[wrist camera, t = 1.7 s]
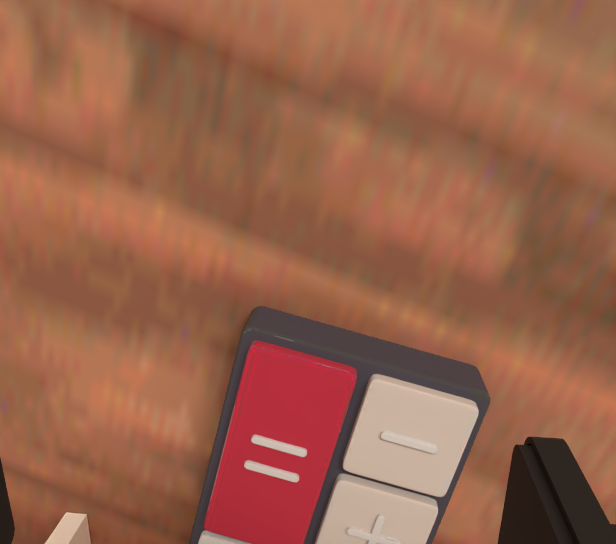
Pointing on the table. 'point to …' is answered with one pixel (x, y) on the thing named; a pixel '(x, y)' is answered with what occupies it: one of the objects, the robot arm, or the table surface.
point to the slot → (71, 530)
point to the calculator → (336, 438)
